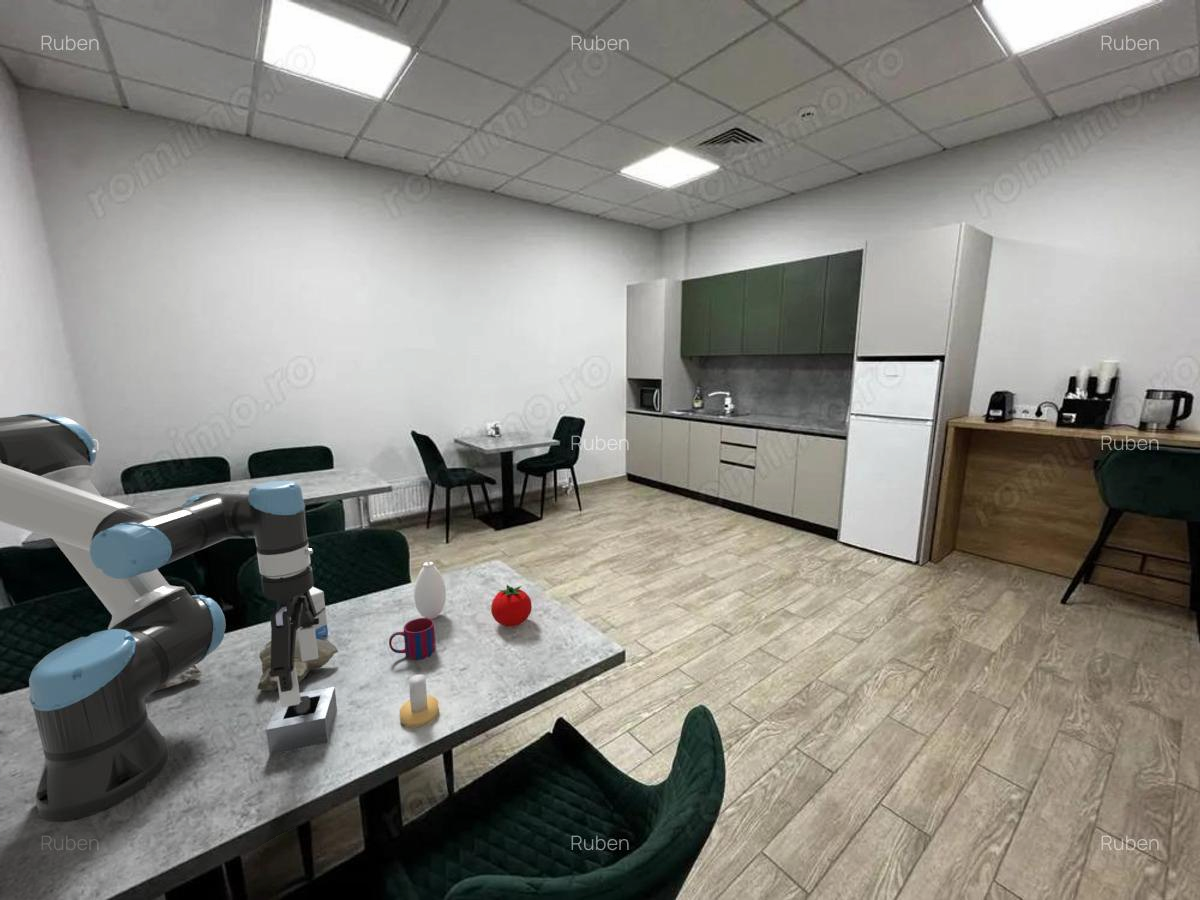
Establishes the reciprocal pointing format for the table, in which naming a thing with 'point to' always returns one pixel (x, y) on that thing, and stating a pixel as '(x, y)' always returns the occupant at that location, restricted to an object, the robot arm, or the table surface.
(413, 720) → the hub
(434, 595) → the white vase
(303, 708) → the dark grey round-topped piece
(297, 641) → the fossil
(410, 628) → the mug
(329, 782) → the table surface
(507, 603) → the tomato
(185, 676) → the mineral rock
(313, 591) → the ink box
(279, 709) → the grey square bin
